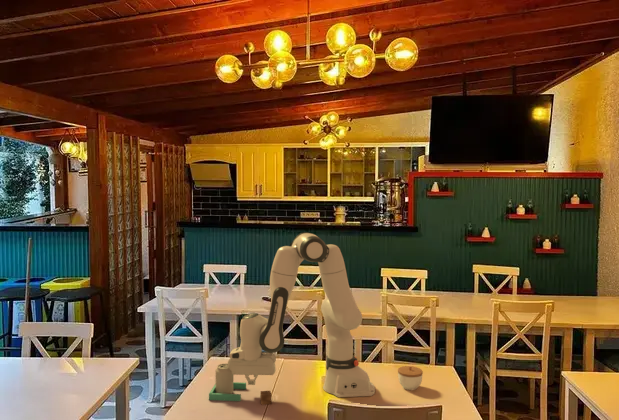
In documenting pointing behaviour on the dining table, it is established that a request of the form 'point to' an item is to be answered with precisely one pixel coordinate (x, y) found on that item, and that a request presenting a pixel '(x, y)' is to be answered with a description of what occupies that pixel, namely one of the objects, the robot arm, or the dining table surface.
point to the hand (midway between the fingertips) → (251, 384)
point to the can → (224, 380)
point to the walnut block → (265, 397)
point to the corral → (227, 397)
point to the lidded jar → (410, 377)
